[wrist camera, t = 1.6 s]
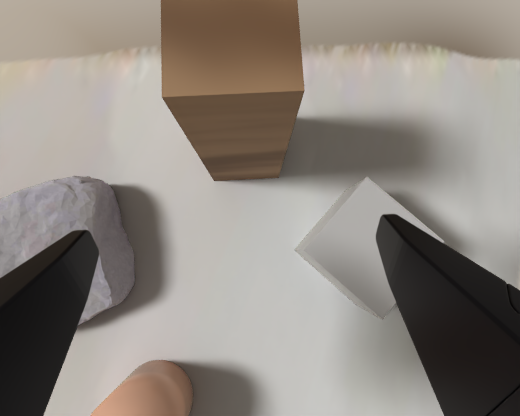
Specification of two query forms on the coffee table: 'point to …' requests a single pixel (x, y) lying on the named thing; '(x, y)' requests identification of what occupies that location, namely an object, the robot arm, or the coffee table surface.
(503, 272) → the coffee table surface
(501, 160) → the coffee table surface
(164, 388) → the terracotta puck
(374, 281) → the grey faceted block
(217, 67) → the walnut block
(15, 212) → the stone block
